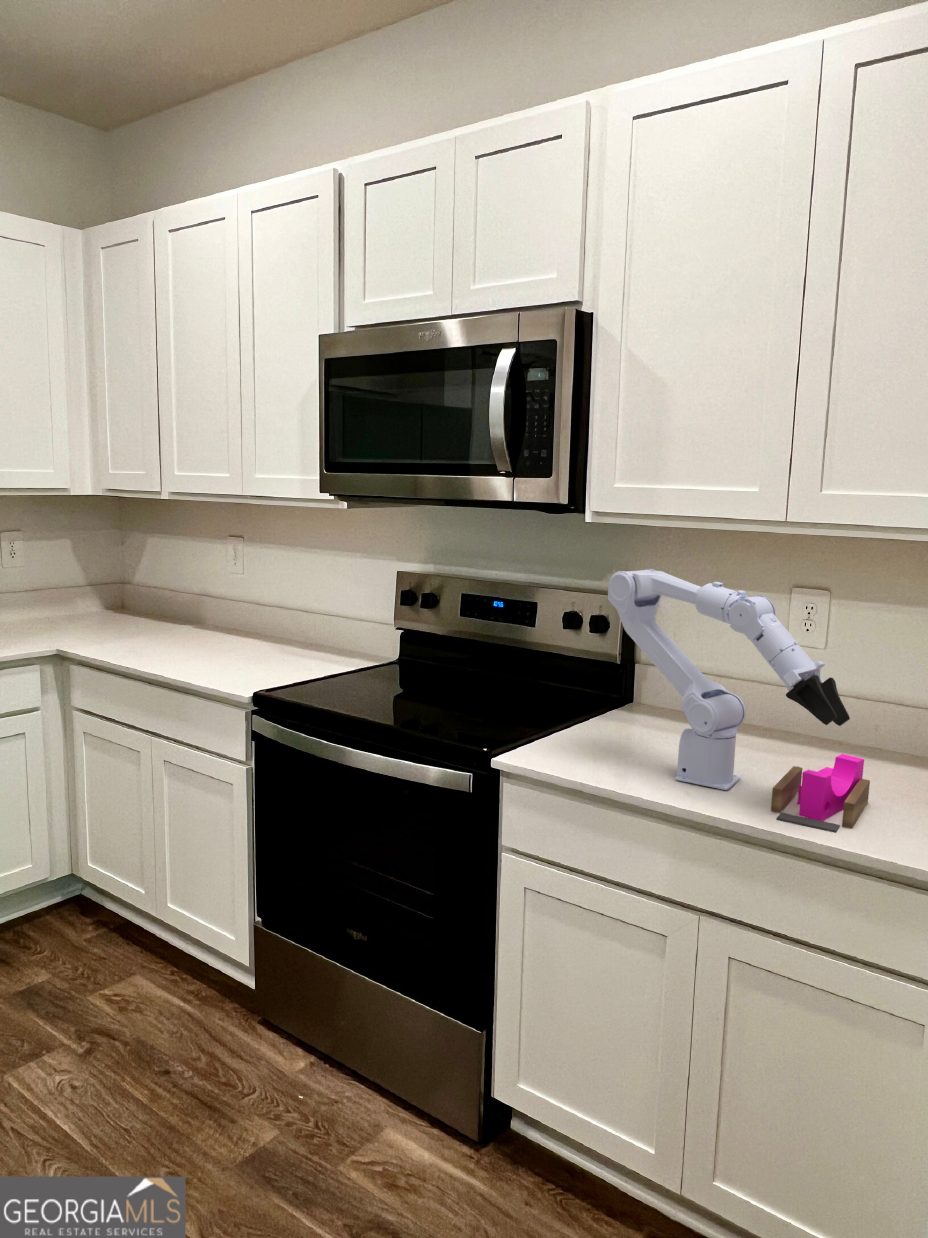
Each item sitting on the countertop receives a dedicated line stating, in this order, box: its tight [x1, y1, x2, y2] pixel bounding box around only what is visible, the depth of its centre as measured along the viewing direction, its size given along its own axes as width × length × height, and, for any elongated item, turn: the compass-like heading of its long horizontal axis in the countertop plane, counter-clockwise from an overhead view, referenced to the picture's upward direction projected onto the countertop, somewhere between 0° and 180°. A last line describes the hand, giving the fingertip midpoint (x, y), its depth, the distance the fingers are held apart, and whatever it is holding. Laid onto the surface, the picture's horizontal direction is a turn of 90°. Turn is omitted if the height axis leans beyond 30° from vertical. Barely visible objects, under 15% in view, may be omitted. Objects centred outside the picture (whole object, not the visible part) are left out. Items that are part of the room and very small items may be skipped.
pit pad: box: [776, 811, 841, 833], centre depth 143 cm, size 9×3×1 cm, turn 57°
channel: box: [770, 765, 871, 829], centre depth 150 cm, size 12×14×4 cm
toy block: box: [797, 753, 865, 822], centre depth 151 cm, size 15×6×8 cm, turn 134°
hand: (838, 722), depth 143 cm, fingers open, 7 cm apart
